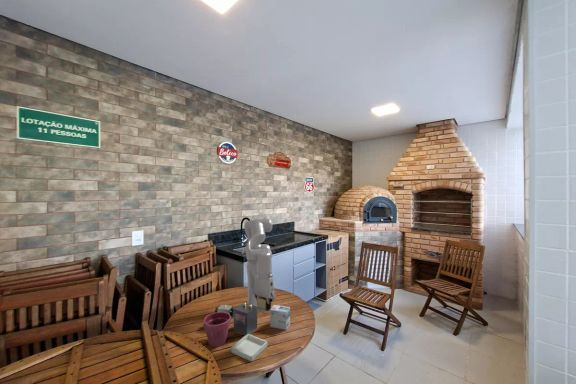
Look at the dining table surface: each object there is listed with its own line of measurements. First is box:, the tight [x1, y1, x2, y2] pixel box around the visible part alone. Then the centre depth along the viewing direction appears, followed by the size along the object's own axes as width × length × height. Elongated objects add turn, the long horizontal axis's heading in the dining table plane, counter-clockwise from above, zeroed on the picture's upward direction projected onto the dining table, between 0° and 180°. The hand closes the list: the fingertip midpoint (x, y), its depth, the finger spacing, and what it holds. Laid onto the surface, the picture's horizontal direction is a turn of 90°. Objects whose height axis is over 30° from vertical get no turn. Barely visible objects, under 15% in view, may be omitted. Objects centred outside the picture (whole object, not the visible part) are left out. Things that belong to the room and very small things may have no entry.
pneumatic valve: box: [214, 304, 235, 320], centre depth 148 cm, size 6×12×12 cm, turn 78°
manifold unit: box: [233, 301, 258, 337], centre depth 142 cm, size 9×10×15 cm
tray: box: [230, 334, 269, 363], centre depth 125 cm, size 13×13×2 cm
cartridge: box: [257, 296, 269, 314], centre depth 132 cm, size 5×5×8 cm
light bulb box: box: [269, 304, 291, 331], centre depth 147 cm, size 11×7×11 cm, turn 71°
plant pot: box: [203, 312, 232, 348], centre depth 131 cm, size 14×14×13 cm
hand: (264, 308), depth 132 cm, fingers closed on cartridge, 5 cm apart
